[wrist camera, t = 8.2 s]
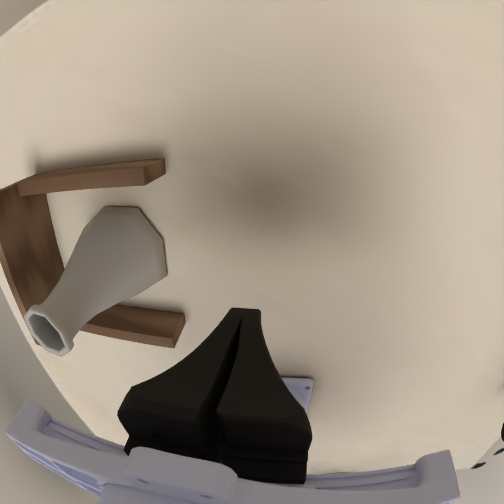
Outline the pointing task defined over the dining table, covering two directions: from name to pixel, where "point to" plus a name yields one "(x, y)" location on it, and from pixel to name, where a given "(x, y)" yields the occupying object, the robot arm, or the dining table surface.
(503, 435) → the coffee mug
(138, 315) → the shelf bay
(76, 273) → the flask
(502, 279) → the dining table surface
